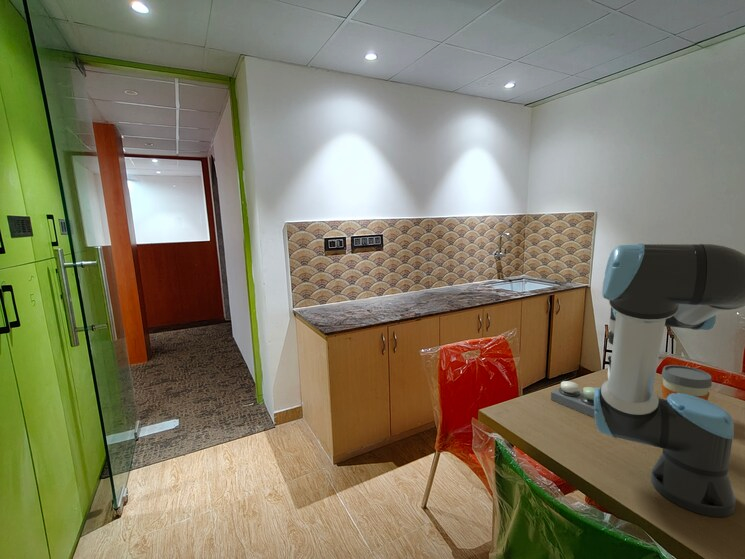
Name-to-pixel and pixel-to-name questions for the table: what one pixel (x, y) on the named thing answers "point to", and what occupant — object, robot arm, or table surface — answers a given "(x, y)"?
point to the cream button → (569, 387)
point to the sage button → (589, 392)
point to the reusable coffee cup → (685, 381)
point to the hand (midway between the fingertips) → (618, 400)
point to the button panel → (574, 401)
